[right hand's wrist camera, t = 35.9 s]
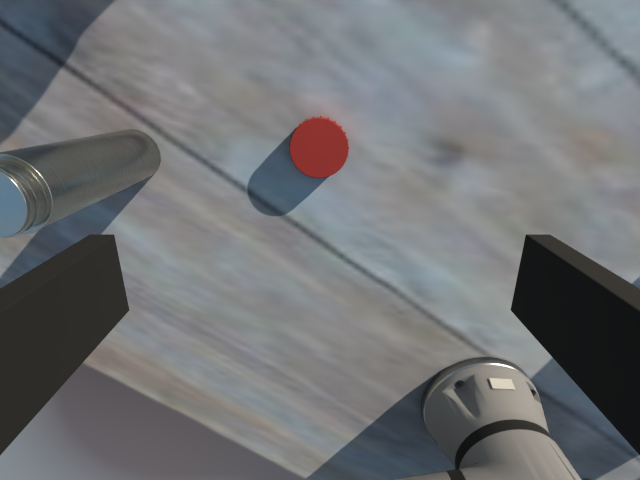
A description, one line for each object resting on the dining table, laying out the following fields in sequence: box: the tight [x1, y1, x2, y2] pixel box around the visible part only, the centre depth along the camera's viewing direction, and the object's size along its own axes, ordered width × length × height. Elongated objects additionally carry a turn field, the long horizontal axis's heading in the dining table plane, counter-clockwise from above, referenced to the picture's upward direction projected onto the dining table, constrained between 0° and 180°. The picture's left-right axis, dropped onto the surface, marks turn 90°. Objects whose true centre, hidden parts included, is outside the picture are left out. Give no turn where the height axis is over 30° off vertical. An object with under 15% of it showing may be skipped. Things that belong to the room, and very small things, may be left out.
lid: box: [289, 116, 349, 178], centre depth 40 cm, size 6×6×2 cm
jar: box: [0, 130, 160, 238], centre depth 32 cm, size 5×5×20 cm
